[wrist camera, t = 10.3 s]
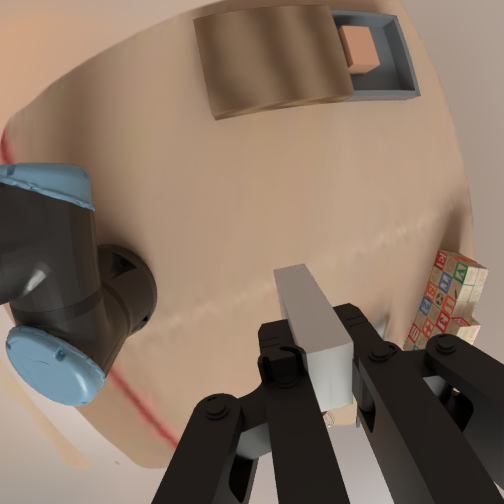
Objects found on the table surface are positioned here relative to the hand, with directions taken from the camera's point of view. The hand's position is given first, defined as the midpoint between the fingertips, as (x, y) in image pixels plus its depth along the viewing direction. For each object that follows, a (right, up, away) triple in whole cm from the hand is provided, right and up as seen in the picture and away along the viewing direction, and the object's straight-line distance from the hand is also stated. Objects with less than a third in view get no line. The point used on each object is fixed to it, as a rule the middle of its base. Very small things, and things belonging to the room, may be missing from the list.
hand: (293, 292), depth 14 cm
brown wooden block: (0, +28, +21) cm, 35 cm away
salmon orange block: (+10, +29, +17) cm, 36 cm away
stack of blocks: (+33, -8, +34) cm, 48 cm away
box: (+15, +31, +21) cm, 41 cm away
